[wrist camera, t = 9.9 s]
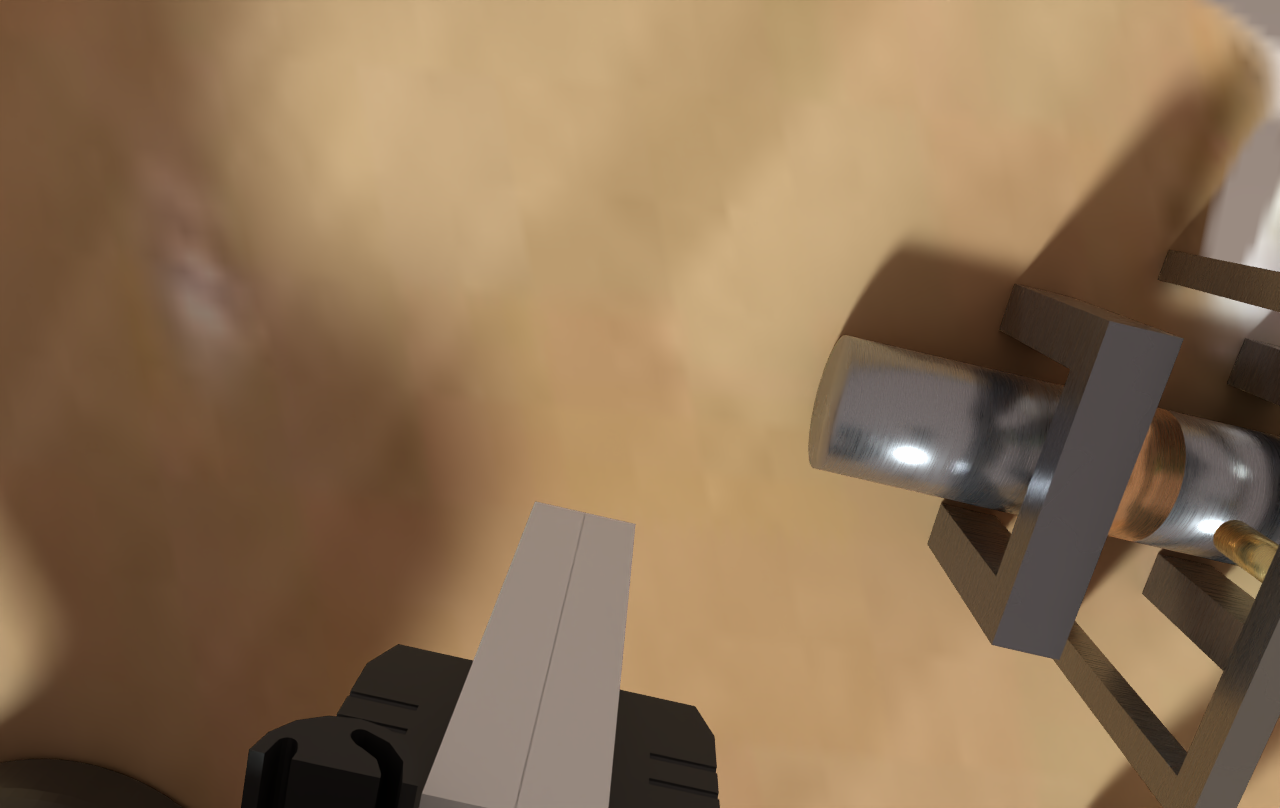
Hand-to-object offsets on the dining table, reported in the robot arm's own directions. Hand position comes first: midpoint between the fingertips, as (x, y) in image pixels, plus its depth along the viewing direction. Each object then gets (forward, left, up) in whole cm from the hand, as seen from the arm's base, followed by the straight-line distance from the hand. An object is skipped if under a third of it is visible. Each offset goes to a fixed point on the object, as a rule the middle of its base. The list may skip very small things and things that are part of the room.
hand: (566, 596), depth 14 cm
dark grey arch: (+13, 0, -19) cm, 23 cm away
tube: (+16, 0, -19) cm, 25 cm away
